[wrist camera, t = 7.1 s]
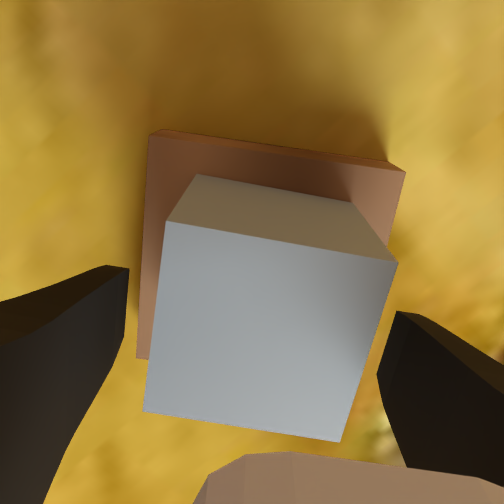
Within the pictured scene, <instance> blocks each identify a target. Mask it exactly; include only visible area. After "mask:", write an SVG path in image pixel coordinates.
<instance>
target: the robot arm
mask: <svg viewBox="0 0 504 504" xmlns="http://www.w3.org/2000/svg"><path fill="white" fill-rule="evenodd" d="M128 280H129V268H122V267H116V266H110V265H104V266H100V267H97V268H94V269H91V270H89V271H86V272H84V273H81V274H79V275H76V276H74V277H71V278H69V279H66V280H64V281H61V282H59V283H56V284H54V285H51V286H48V287H45V288H42V289H39V290H36V291H33V292H31V293H28V294H25V295H22V296H19V297H15V298H12V299H8V300H5V301H1V302H0V504H43V502H44V500H45V497H46V495H47V493H48V490H49V488H50V485H51V483H52V481H53V479H54V476H55V474H56V472H57V469H58V467H59V465H60V462H61V460H62V458H63V455H64V453H65V451H66V449H67V447H68V445H69V443H70V441H71V439H72V437H73V435H74V433H75V432H76V430H77V428H78V426H79V425H80V423H81V421H82V419H83V417H84V416H85V414H86V412H87V410H88V409H89V407H90V405H91V403H92V402H93V400H94V398H95V396H96V395H97V393H98V391H99V389H100V388H101V386H102V384H103V382H104V381H105V379H106V377H107V375H108V373H109V372H110V370H111V368H112V366H113V363H114V361H115V358H116V356H117V353H118V351H119V348H120V346H121V343H122V340H123V338H124V330H125V318H126V305H127V293H128ZM377 379H378V384H379V389H380V394H381V398H382V402H383V406H384V409H385V412H386V415H387V417H388V420H389V422H390V425H391V428H392V430H393V433H394V436H395V438H396V441H397V443H398V446H399V448H400V451H401V454H402V456H403V459H404V461H405V464H406V466H407V468H406V467H399V466H391V465H384V464H377V463H370V462H363V461H356V460H349V459H341V458H334V457H327V456H320V455H313V454H306V453H298V452H291V451H290V452H274V453H259V454H246V455H244V456H242V457H240V458H238V459H236V460H234V461H233V462H231V463H229V464H227V465H225V466H224V467H222V468H220V469H218V470H216V471H214V472H213V473H211V474H209V475H208V477H207V479H206V481H205V483H204V484H203V486H202V488H201V490H200V492H199V493H198V495H197V497H196V499H195V500H194V502H193V504H504V365H502V364H501V363H499V362H497V361H496V360H494V359H492V358H491V357H489V356H488V355H486V354H484V353H483V352H481V351H480V350H478V349H476V348H475V347H473V346H472V345H470V344H469V343H467V342H465V341H464V340H462V339H461V338H459V337H458V336H456V335H455V334H453V333H451V332H450V331H448V330H447V329H445V328H444V327H442V326H440V325H439V324H437V323H435V322H434V321H432V320H430V319H428V318H426V317H424V316H422V315H419V314H414V313H408V312H402V311H396V314H395V317H394V320H393V324H392V327H391V330H390V333H389V336H388V339H387V343H386V346H385V349H384V352H383V355H382V358H381V362H380V365H379V368H378V371H377Z"/></svg>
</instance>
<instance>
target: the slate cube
mask: <svg viewBox="0 0 504 504" xmlns="http://www.w3.org/2000/svg"><path fill="white" fill-rule="evenodd" d="M397 266H398V261H397V260H396V259H395V257H394V256H393V255H392V254H391V252H390V251H389V250H388V248H387V247H386V246H385V244H384V243H383V242H382V240H381V239H380V238H379V236H378V235H377V234H376V233H375V231H374V230H373V229H372V227H371V226H370V225H369V223H368V222H367V221H366V219H365V218H364V217H363V215H362V214H361V213H360V212H359V210H358V209H357V208H356V206H355V205H354V204H353V203H351V202H346V201H341V200H335V199H330V198H325V197H319V196H314V195H308V194H303V193H298V192H292V191H287V190H282V189H276V188H271V187H266V186H260V185H255V184H250V183H244V182H239V181H233V180H228V179H223V178H217V177H212V176H207V175H201V174H196V176H195V177H194V179H193V180H192V182H191V183H190V185H189V186H188V188H187V189H186V191H185V192H184V194H183V195H182V197H181V199H180V200H179V202H178V203H177V205H176V206H175V208H174V209H173V211H172V212H171V214H170V215H169V217H168V218H167V220H166V224H165V233H164V241H163V249H162V257H161V265H160V273H159V282H158V290H157V298H156V306H155V314H154V322H153V331H152V339H151V347H150V355H149V363H148V371H147V380H146V388H145V396H144V404H143V412H149V413H156V414H162V415H168V416H175V417H181V418H188V419H194V420H200V421H207V422H213V423H219V424H226V425H232V426H238V427H245V428H251V429H257V430H264V431H270V432H276V433H283V434H289V435H295V436H302V437H308V438H314V439H321V440H327V441H333V442H340V440H341V437H342V434H343V431H344V427H345V424H346V421H347V418H348V415H349V412H350V409H351V406H352V403H353V400H354V397H355V394H356V391H357V388H358V385H359V382H360V379H361V376H362V373H363V369H364V366H365V363H366V360H367V357H368V354H369V351H370V348H371V345H372V342H373V339H374V336H375V333H376V330H377V327H378V324H379V321H380V318H381V315H382V311H383V308H384V305H385V302H386V299H387V296H388V293H389V290H390V287H391V284H392V281H393V278H394V275H395V272H396V269H397Z"/></svg>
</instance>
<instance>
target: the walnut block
mask: <svg viewBox="0 0 504 504" xmlns="http://www.w3.org/2000/svg"><path fill="white" fill-rule="evenodd" d="M196 174H201V175H207V176H212V177H217V178H223V179H228V180H233V181H239V182H244V183H250V184H255V185H260V186H266V187H271V188H276V189H282V190H287V191H292V192H298V193H303V194H308V195H314V196H319V197H325V198H330V199H335V200H341V201H346V202H351V203H353V204H354V205H355V206H356V208H357V209H358V210H359V212H360V213H361V214H362V215H363V217H364V218H365V219H366V221H367V222H368V223H369V225H370V226H371V227H372V229H373V230H374V231H375V233H376V234H377V235H378V236H379V238H380V239H381V240H382V242H383V243H384V244H385V246H386V247H387V244H388V240H389V236H390V232H391V228H392V224H393V221H394V217H395V213H396V209H397V205H398V201H399V197H400V194H401V190H402V186H403V182H404V178H405V174H406V172H405V171H403V170H401V169H400V168H398V167H396V166H395V165H393V164H391V163H390V162H387V161H380V160H373V159H366V158H359V157H352V156H345V155H338V154H331V153H324V152H317V151H310V150H303V149H296V148H290V147H283V146H276V145H269V144H262V143H255V142H248V141H241V140H234V139H227V138H220V137H213V136H206V135H199V134H192V133H185V132H178V131H171V130H164V129H161V130H159V131H157V132H155V133H153V134H151V135H149V140H148V157H147V175H146V192H145V210H144V227H143V245H142V262H141V279H140V297H139V314H138V332H137V349H136V358H139V359H147V360H149V355H150V347H151V339H152V331H153V322H154V314H155V306H156V298H157V290H158V282H159V273H160V265H161V257H162V249H163V241H164V233H165V224H166V220H167V218H168V217H169V215H170V214H171V212H172V211H173V209H174V208H175V206H176V205H177V203H178V202H179V200H180V199H181V197H182V195H183V194H184V192H185V191H186V189H187V188H188V186H189V185H190V183H191V182H192V180H193V179H194V177H195V176H196Z"/></svg>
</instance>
